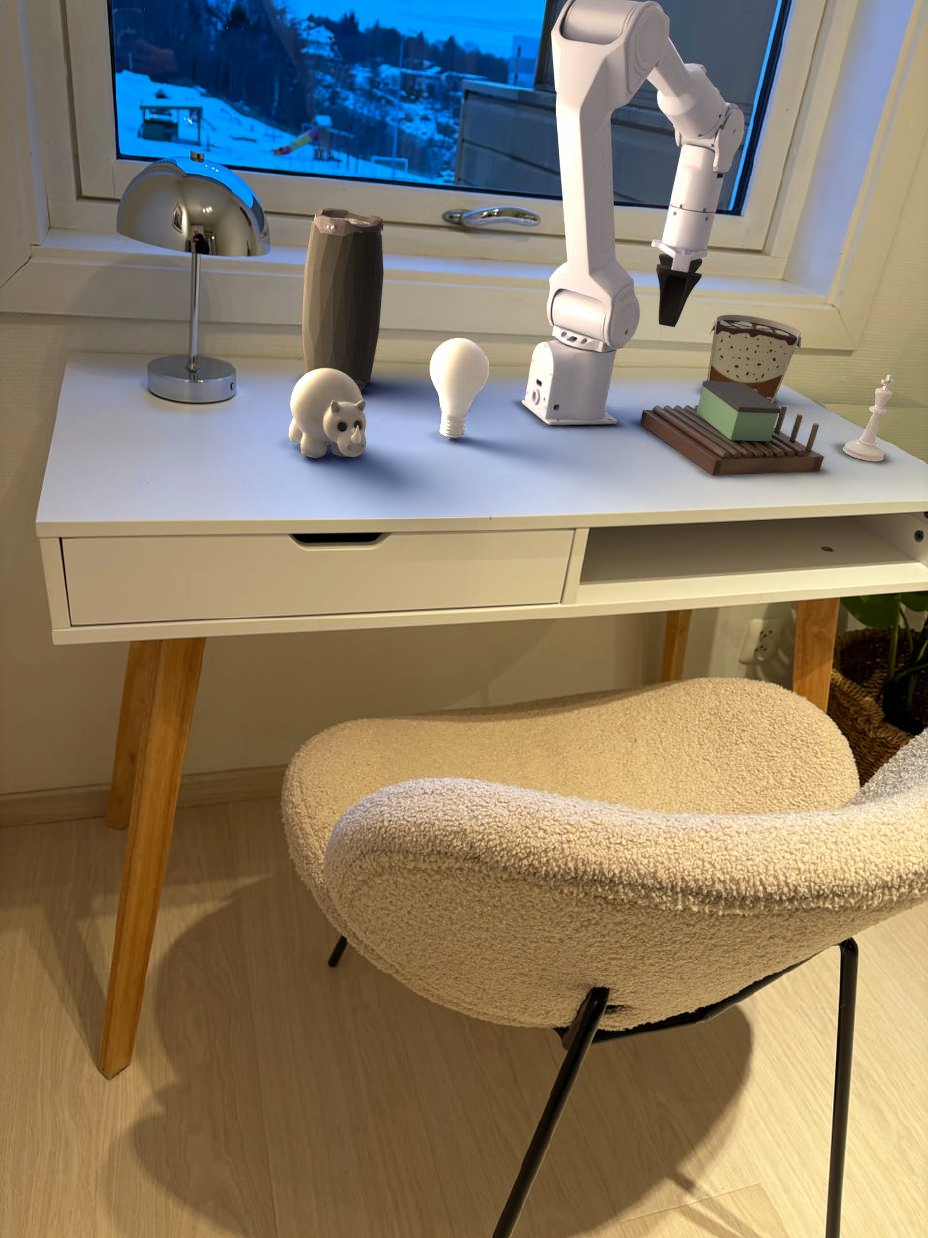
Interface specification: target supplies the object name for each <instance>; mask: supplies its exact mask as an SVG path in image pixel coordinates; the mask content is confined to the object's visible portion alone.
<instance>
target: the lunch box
mask: <svg viewBox="0 0 928 1238" xmlns="http://www.w3.org/2000/svg"><path fill="white" fill-rule="evenodd" d="M701 386H702V390H701V393H700V397H699V401H698V404H697V405H698V409H697V414H699V415H700V416H701V417H702V418H704V419H705V420H706V421H707V422H709V423H710V424H711V425H712V426H713V427H715V428H716V429H717V430H718V431H720V432H721V433H722V434H723V435H725V436H726V437H727V438H728V439H730V440H742V441H770V440H771V437H772V433H773V430H774V428H775V426H776V423H777V420H778V416H779V413H780V410H781V407H779V406H778V405H777V404H775V403H774V402H773V403H772V402H770V401H769V400H767V399H766V398H765V397H763V396H762V395H760V394H759V393H757V392H756V391H754V390H753V389H751V388H750V387H749V386H747V385H746V384H744V383H739V382H719V381H707V380H703V381H702V384H701Z"/></svg>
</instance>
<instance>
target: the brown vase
mask: <svg viewBox="0 0 928 1238" xmlns="http://www.w3.org/2000/svg"><path fill="white" fill-rule="evenodd" d="M383 231H384V224H383V218H382V217H380V216H376V215H371V216H364V215H360V214H356V213H352V212H350V211H348V209H344V208H343V209H342V208H341V209H340V208H334V207H333V208H332V207H326V208H319V209H318V210H317V211H316V212H315V215H314V218H313V219H312V220H311V226H310V232H309V239H308V246H307V251H306V258H305V265H304V273H303V294H302V295H303V297H302V319H301V320H302V321H301V332H302V333H301V334H302V356H303V366H304V371H305V374H304V376H305V375H306V374H308V373H309V372H311V371H314V370H317V369H322V368H330V369H335V370H338V371H341V372H343V373H345V374H346V375H348V376H349V377H350V378H351V379H352V380H353V381H354V382H355V383H356V385H357V386H358V388H359V390H360V392H361V393H362V392H363V390H364V389H365V387H366V385H367V384H368V383H369V382H370V381H371V379H372V375H373V374H372V373H373V368H374V363H375V358H376V353H377V345H378V341H379V334H380V325H381V324H380V323H381V314H382V313H381V312H382V298H383V287H384V286H383V285H384V274H385V272H384V271H385V270H384V253H383V250H384V249H383V235H382V232H383Z"/></svg>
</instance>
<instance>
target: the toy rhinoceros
mask: <svg viewBox="0 0 928 1238" xmlns="http://www.w3.org/2000/svg"><path fill="white" fill-rule="evenodd" d="M305 374H306V373H305ZM305 374H304V375H303V376H302V377H301V378H300V379H299V380H298V381H297V382H296V384H295V386H294V388H293V391H292V393H291V397H290V411H291V415H292V420H291V423H290V425H289V428H288V429H289V431H288V438H289V440H290V441H291V442H293V443H295V444H299V445H300V453H301V454H302V455H304V456H306V457H309V458H315V459H317V458H322V457H324V456H325V455H326V453H327V447H328V446H327V445H330V450H331V452H332V454H334V455H336V456H338V457H346V458H347V457H349V458H355V457H358V456H361V455H362V454H363V453H364V452H365V450H366V448H367V437H366V428H367V417H366V415H365V408H366V400H365V399H363V397H362V392H360V390H359V388H358V386H357V385H356V383H355V382H354V381H353V380H352V379H351V378H350V377H349V376H348V375H346V374H345V373H343V372H341V371H338V370H335V369H330V368H322V369H317V370H314V371H311V372H309V373H308V374H306V375H305Z"/></svg>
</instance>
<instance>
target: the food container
mask: <svg viewBox="0 0 928 1238" xmlns="http://www.w3.org/2000/svg"><path fill="white" fill-rule="evenodd" d="M712 332H713V336H712V343H711V348H710V349H711V351H710V357H709V363H708V371H707V379H706V381H719V382H739V383H744V384H746V385H747V386H749V387H750V388H751V389H756V390H758V391H757V393H759V394H760V395H762V396H763V397H765V398H767V397H771V398H772V401H771V402H772V403H773V404H774V402H775V400H776V398H777V395H778V392H779V390H780V387H781V385H782V382H783V380H784V378H785V375H786V373H787V370H788V367H789V365H790V362H791V360H792V357H793V355H794V353H795V350H796V348H798V349H801V347H802V336H801V334H802V332H801V331H800V330H799V329H798V328H795V327H793V326H791V325H789V324H786V323H783V322H780V321H777V320H772V319H768V318H763V317H759V316H752V315H744V314H721V315H719V316H717V317H716V319H715V320H714V321H713V322H712V325H711V326H710V329H709V332H708V335H709V336H711V335H712Z"/></svg>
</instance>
